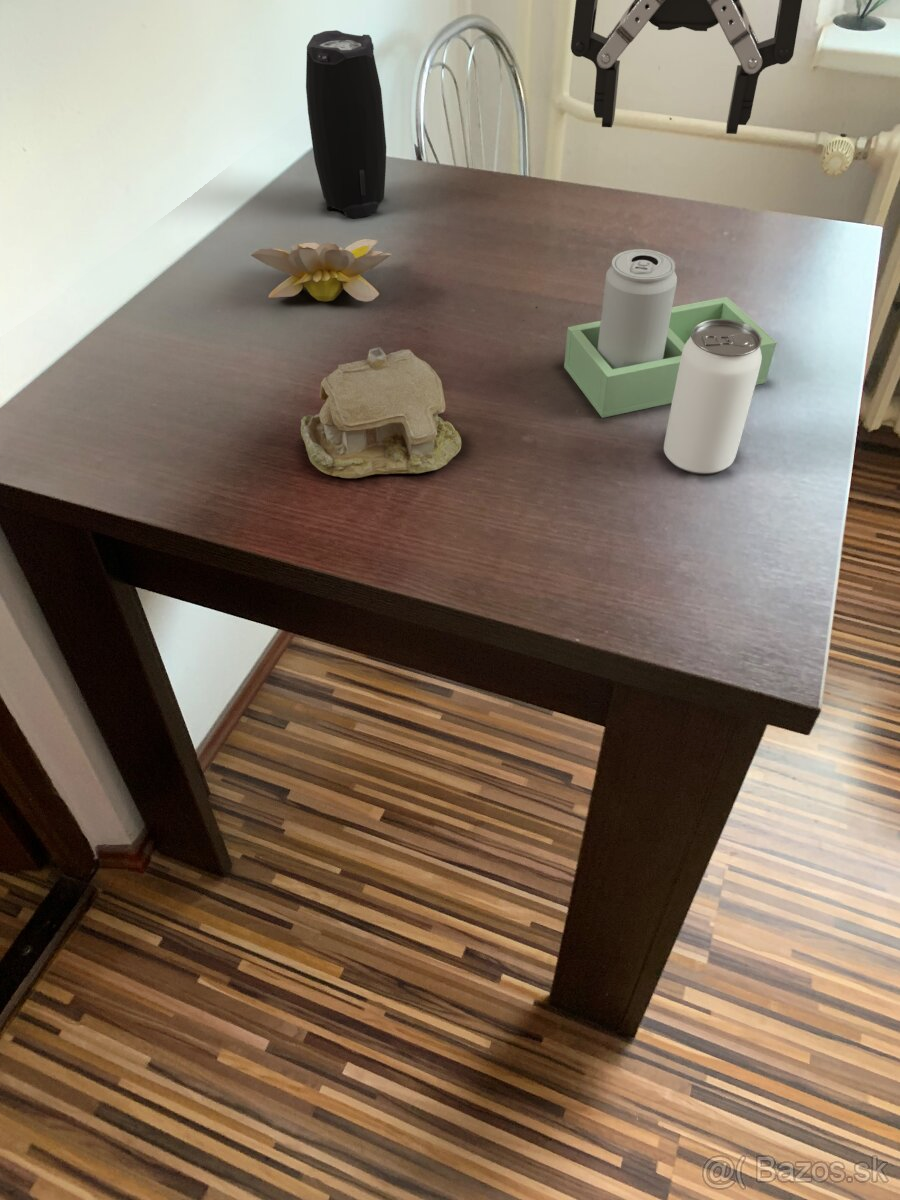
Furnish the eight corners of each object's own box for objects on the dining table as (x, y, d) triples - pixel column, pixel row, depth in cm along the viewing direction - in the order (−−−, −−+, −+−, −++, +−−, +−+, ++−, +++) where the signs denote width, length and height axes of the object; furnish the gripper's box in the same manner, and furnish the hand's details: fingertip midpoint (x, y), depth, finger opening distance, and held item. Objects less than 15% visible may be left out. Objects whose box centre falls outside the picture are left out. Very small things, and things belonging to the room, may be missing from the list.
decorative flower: (407, 252, 105) (392, 175, 96) (395, 320, 100) (379, 245, 91) (286, 256, 107) (261, 182, 99) (268, 323, 102) (240, 250, 93)
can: (741, 476, 79) (775, 357, 70) (668, 477, 79) (693, 358, 70) (727, 432, 83) (757, 315, 74) (657, 433, 83) (679, 316, 74)
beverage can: (664, 366, 89) (685, 251, 80) (652, 401, 85) (673, 284, 76) (601, 355, 91) (615, 241, 82) (587, 389, 87) (600, 273, 78)
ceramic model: (433, 398, 88) (430, 304, 80) (475, 463, 80) (475, 368, 73) (295, 429, 84) (278, 335, 77) (325, 501, 77) (310, 405, 70)
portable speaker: (323, 193, 121) (303, 29, 107) (391, 192, 121) (380, 27, 107) (317, 221, 115) (295, 50, 101) (389, 219, 115) (377, 48, 101)
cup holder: (765, 383, 88) (776, 342, 85) (602, 418, 85) (607, 376, 81) (717, 336, 94) (726, 296, 91) (563, 367, 91) (567, 326, 88)
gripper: (578, -170, 49) (560, 141, 61) (847, -173, 47) (775, 152, 58) (594, -185, 54) (575, 105, 66) (838, -189, 52) (773, 113, 63)
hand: (669, 127), depth 62 cm, fingers open, 8 cm apart
